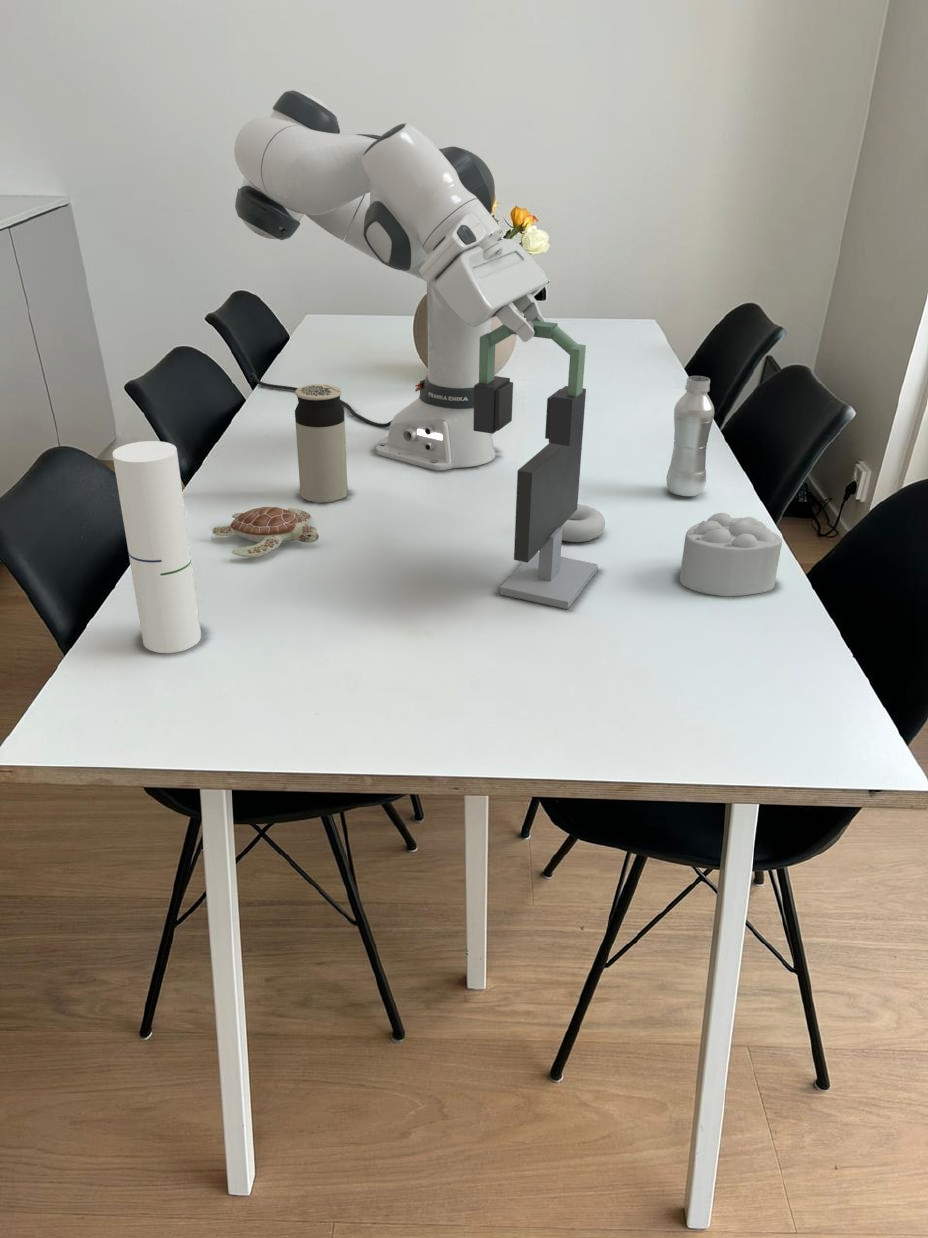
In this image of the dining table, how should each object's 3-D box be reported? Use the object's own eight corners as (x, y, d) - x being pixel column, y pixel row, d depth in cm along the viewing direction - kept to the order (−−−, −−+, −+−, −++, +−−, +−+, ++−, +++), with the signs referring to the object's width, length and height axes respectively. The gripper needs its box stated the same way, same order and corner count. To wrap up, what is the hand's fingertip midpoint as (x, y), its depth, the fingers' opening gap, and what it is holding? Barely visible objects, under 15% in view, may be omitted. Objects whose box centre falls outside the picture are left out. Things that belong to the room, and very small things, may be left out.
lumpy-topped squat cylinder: (782, 590, 143) (792, 534, 139) (697, 600, 140) (705, 543, 136) (747, 559, 152) (755, 506, 147) (666, 568, 149) (673, 513, 145)
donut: (596, 550, 154) (610, 524, 162) (598, 529, 152) (612, 504, 161) (533, 540, 157) (549, 515, 165) (534, 520, 155) (551, 496, 163)
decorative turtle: (289, 572, 146) (287, 540, 143) (190, 553, 151) (186, 522, 148) (345, 525, 161) (344, 495, 158) (253, 509, 166) (251, 480, 163)
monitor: (489, 605, 138) (493, 466, 128) (541, 549, 154) (548, 421, 144) (558, 620, 134) (568, 479, 125) (604, 561, 150) (616, 432, 141)
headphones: (473, 430, 131) (475, 320, 125) (489, 419, 135) (492, 312, 129) (569, 446, 127) (577, 333, 120) (582, 434, 131) (591, 324, 124)
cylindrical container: (148, 625, 132) (119, 441, 120) (204, 624, 132) (181, 440, 120) (138, 654, 125) (106, 462, 113) (196, 652, 126) (171, 461, 114)
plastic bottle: (704, 502, 171) (720, 385, 161) (663, 498, 172) (677, 382, 163) (704, 488, 177) (719, 374, 167) (664, 485, 178) (678, 372, 168)
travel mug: (310, 507, 167) (303, 400, 158) (294, 490, 173) (286, 386, 164) (355, 499, 170) (350, 393, 161) (337, 483, 176) (332, 381, 168)
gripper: (483, 249, 134) (548, 332, 135) (412, 275, 117) (487, 369, 118) (515, 215, 130) (583, 301, 131) (447, 237, 113) (524, 335, 115)
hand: (537, 334), depth 125 cm, fingers closed on headphones, 2 cm apart
